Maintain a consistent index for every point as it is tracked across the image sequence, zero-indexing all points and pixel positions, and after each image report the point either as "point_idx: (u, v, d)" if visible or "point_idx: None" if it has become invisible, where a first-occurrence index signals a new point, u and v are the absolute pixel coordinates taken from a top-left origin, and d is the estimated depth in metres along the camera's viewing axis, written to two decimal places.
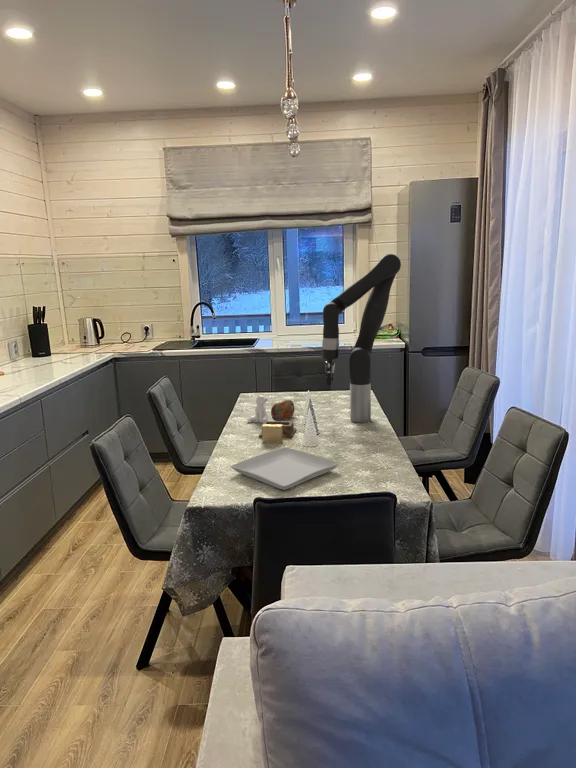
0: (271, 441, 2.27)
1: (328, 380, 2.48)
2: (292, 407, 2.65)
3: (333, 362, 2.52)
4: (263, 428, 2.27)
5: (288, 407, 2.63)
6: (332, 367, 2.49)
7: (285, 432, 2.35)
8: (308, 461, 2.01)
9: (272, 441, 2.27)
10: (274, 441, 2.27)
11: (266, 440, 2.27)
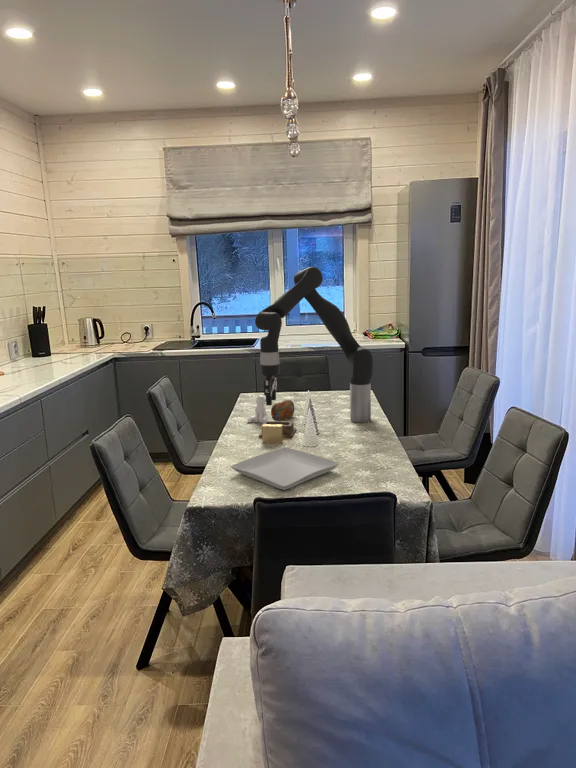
0: (271, 441, 2.27)
1: (267, 399, 2.20)
2: (292, 407, 2.65)
3: (274, 379, 2.24)
4: (263, 428, 2.27)
5: (288, 407, 2.63)
6: (272, 385, 2.21)
7: (285, 432, 2.35)
8: (308, 461, 2.01)
9: (272, 441, 2.27)
10: (274, 441, 2.27)
11: (266, 440, 2.27)
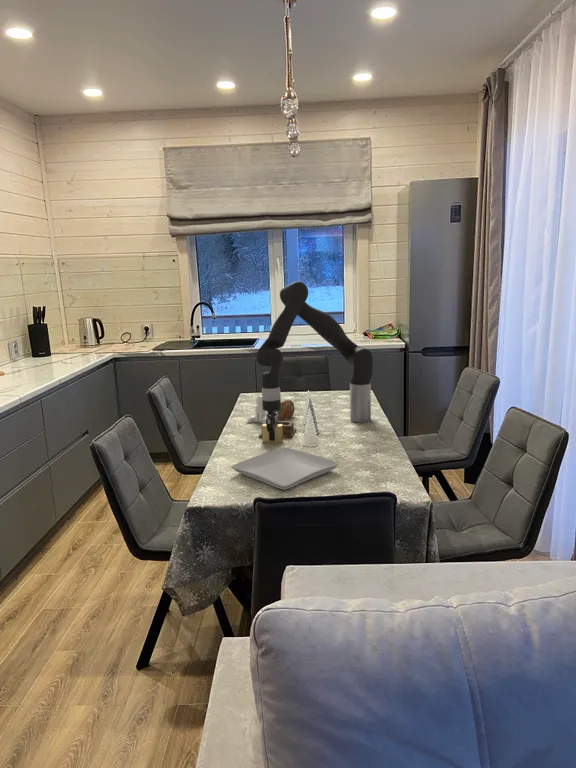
0: (271, 441, 2.27)
1: (270, 435, 2.25)
2: (292, 407, 2.65)
3: (275, 413, 2.27)
4: (263, 428, 2.27)
5: (288, 407, 2.63)
6: (274, 421, 2.24)
7: (285, 432, 2.35)
8: (308, 461, 2.01)
9: (272, 441, 2.27)
10: (274, 441, 2.27)
11: (266, 440, 2.27)
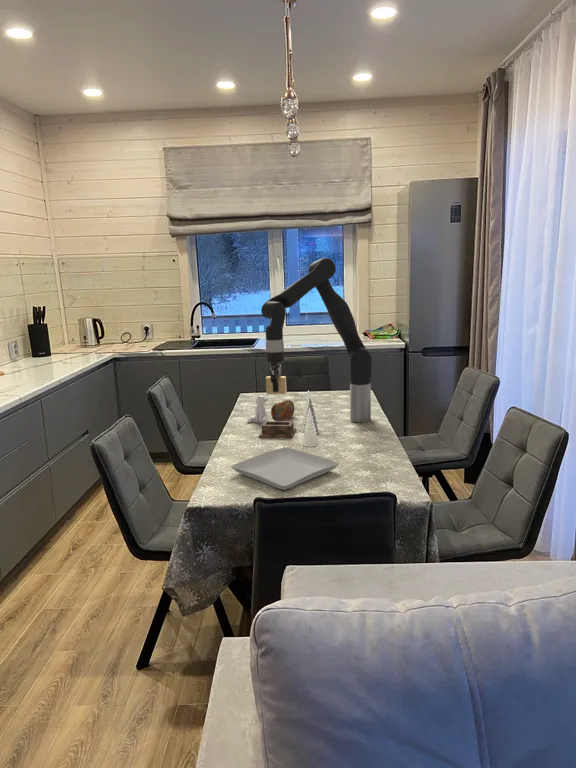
0: (275, 392, 2.34)
1: (274, 386, 2.32)
2: (292, 407, 2.65)
3: (279, 365, 2.34)
4: (267, 380, 2.33)
5: (288, 407, 2.63)
6: (277, 372, 2.31)
7: (285, 432, 2.35)
8: (308, 461, 2.01)
9: (276, 392, 2.34)
10: (278, 392, 2.34)
11: (270, 391, 2.34)
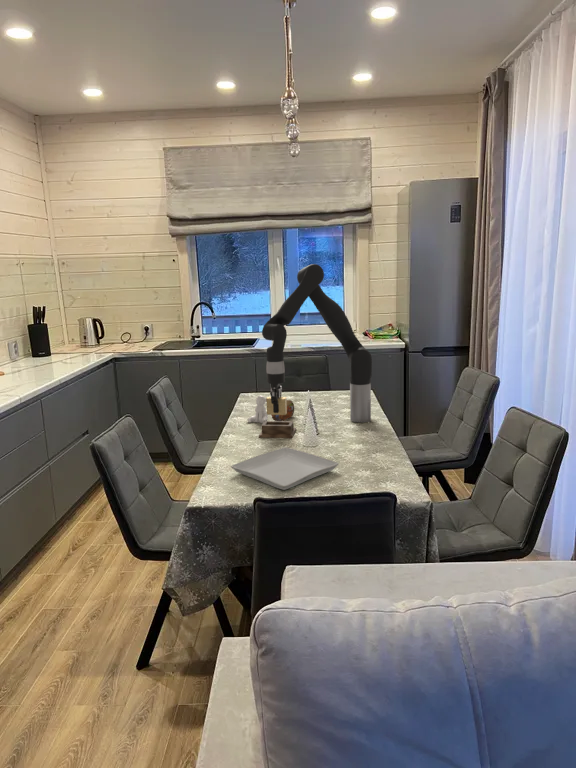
0: (275, 413, 2.36)
1: (275, 407, 2.34)
2: (292, 407, 2.65)
3: (279, 386, 2.36)
4: (267, 400, 2.36)
5: (288, 407, 2.63)
6: (278, 393, 2.33)
7: (285, 432, 2.35)
8: (308, 461, 2.01)
9: (276, 413, 2.36)
10: (278, 413, 2.36)
11: (271, 412, 2.36)
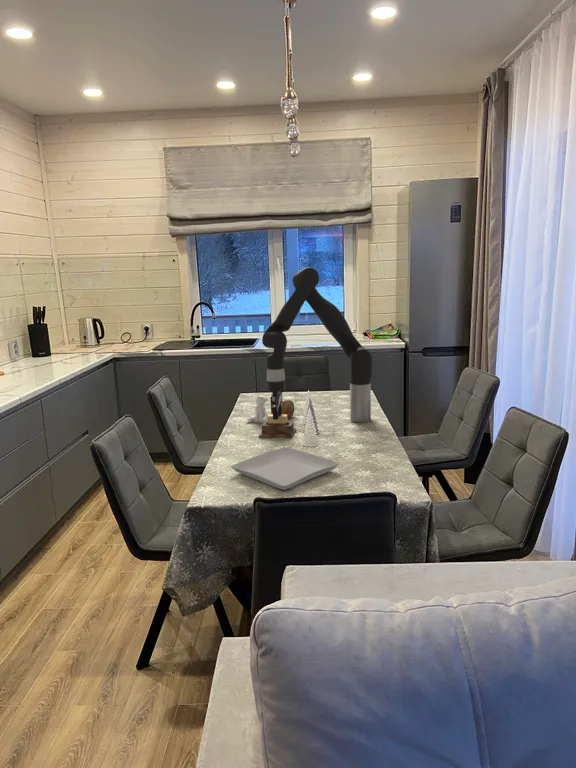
0: None
1: (274, 414, 2.33)
2: (292, 407, 2.65)
3: (280, 394, 2.36)
4: (268, 418, 2.37)
5: (288, 407, 2.63)
6: (278, 400, 2.33)
7: (285, 432, 2.35)
8: (308, 461, 2.01)
9: None
10: None
11: None
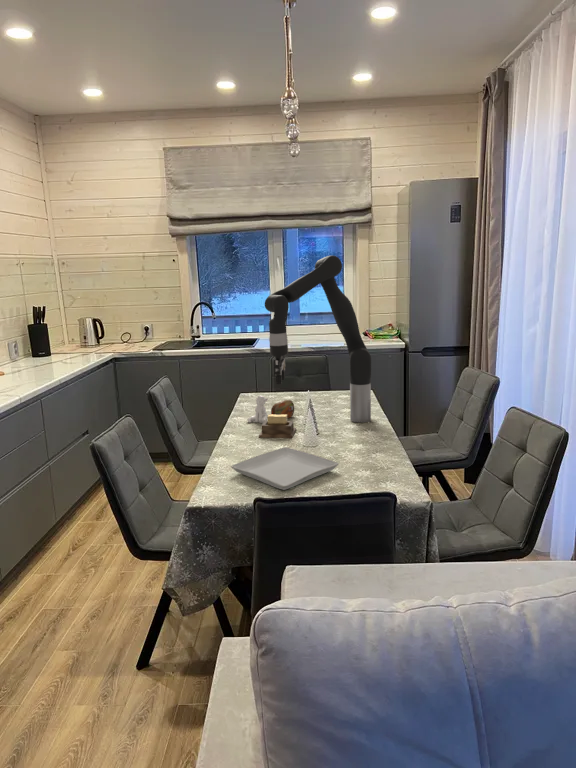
0: None
1: (277, 379, 2.30)
2: (292, 407, 2.65)
3: (283, 359, 2.35)
4: (268, 418, 2.37)
5: (288, 407, 2.63)
6: (281, 364, 2.31)
7: (285, 432, 2.35)
8: (308, 461, 2.01)
9: None
10: None
11: None
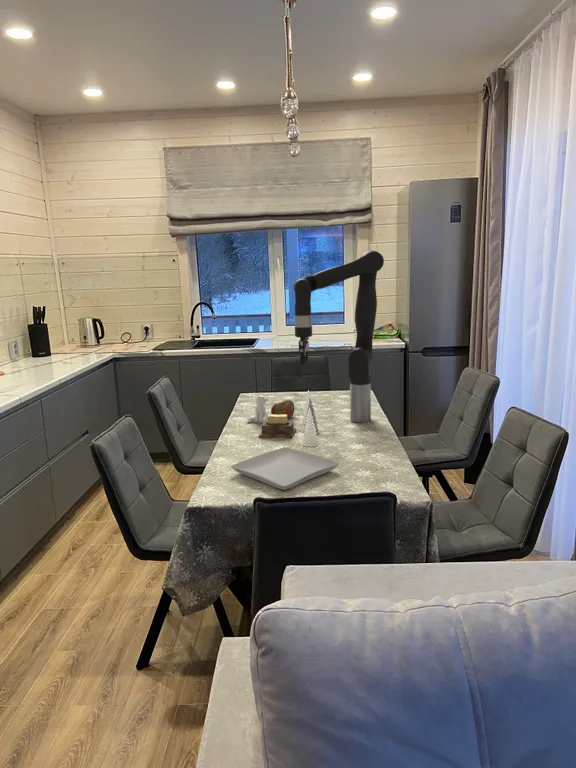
0: None
1: (302, 359, 2.41)
2: (292, 407, 2.65)
3: (307, 340, 2.45)
4: (268, 418, 2.37)
5: (288, 407, 2.63)
6: (305, 345, 2.42)
7: (285, 432, 2.35)
8: (308, 461, 2.01)
9: None
10: None
11: None
